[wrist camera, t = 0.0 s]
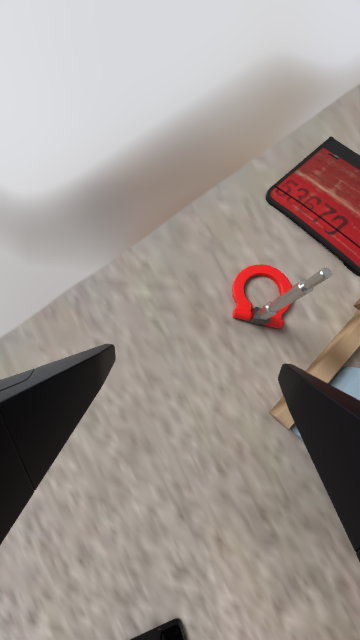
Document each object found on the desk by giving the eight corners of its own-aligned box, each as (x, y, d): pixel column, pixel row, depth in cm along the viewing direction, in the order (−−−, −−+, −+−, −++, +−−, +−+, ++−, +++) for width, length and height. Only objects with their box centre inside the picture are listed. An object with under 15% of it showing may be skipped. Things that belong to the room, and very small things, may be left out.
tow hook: (237, 263, 27) (225, 317, 25) (281, 175, 14) (264, 268, 12) (291, 275, 26) (283, 332, 24) (389, 192, 13) (392, 297, 11)
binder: (332, 133, 28) (451, 209, 24) (321, 149, 30) (429, 222, 26) (262, 191, 27) (373, 280, 23) (257, 203, 30) (357, 286, 26)
